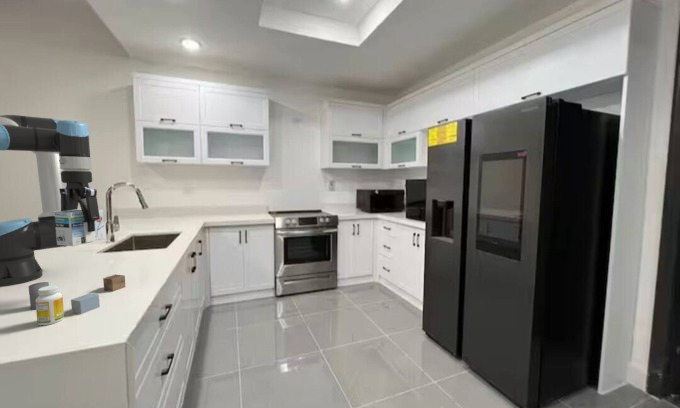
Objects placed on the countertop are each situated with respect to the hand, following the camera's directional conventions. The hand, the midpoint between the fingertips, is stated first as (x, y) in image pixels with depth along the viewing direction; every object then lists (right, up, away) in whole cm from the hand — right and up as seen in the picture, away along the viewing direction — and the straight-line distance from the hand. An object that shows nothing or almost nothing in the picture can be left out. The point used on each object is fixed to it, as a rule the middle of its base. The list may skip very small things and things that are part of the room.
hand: (82, 240), depth 98 cm
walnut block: (+4, -18, +9) cm, 21 cm away
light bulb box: (0, -1, 0) cm, 1 cm away
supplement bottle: (+5, -21, -16) cm, 26 cm away
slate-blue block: (+9, -20, -8) cm, 23 cm away
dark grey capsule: (-7, -20, -6) cm, 22 cm away
